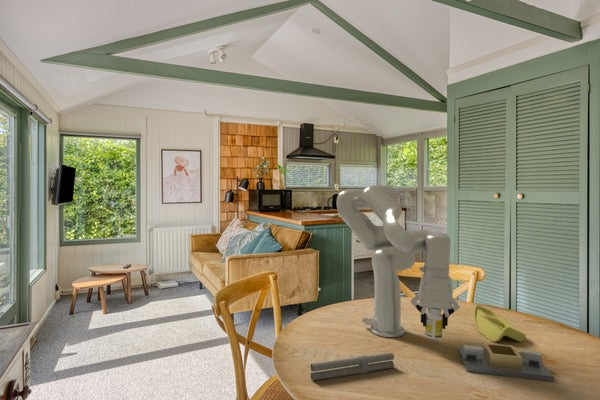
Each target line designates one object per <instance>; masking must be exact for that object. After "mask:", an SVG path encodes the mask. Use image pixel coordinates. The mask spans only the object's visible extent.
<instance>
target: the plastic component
mask: <svg viewBox="0 0 600 400" xmlns="http://www.w3.org/2000/svg"><path fill="white" fill-rule="evenodd" d="M473 322H474V323H473V324H474V326H475V328H476V329H477V330H478V331H479V332H480V333H481V334H482V335H483V336H485V337H486V338H487V339H488V340H489V341H491V342H493V343H497V342H500V341H501V340H502V338H503V337H508V338H511V339H512V340H514V341H517V342H519V343H522V342H523V341H524V339H525V337H526V335H527V334H526V333H525V332H523V331H522V330H520V329H519V328H518V327H516V326H515V325H513V324H511V322H508V321H507V320H506V319H504V318H503V317H501V316H500V315H498V314H497V313H495V312H493V311H491V310H490V309H487V308H485V307H483V306H481V305H479V304H476V305H475V306H474V308H473Z"/></svg>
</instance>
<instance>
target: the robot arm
mask: <svg viewBox="0 0 600 400" xmlns="http://www.w3.org/2000/svg"><path fill="white" fill-rule="evenodd" d="M397 201H398V193H397V191H396V189H395V188H394V187H392V186H390V185H384V184H381V185H380V184H379V185H377V184H373V185H369V186H367V187H366V188H362V189H361V188H357V189H356V188H355V189H354V188H350V189H349V188H348V189H345V190H343V191H341V192H339V194H338V195H337V197H336V208H337V213H338V215H339V216H340V218H341V220H342V221H343V222H344V223H345V224H346V225H347V226H348V227H349V229H350V230H351V231H352V232H353V235H355V237H356V238H357V240H358V241H359V243H360V244H361V245H362V247H364V249H365V250H366V251H371V252H373V254H371V255H372V256H371V265H372V270H373V278H374V315H373V316H372V317H371V318H370V317H369V318H368V317H362V323H364V324H365V326H366V325H367V326H370V327H369V329H370V331H371V333H372V334H374V335H377V336H380V337H384V338H399V337H402V336H403V335H405V333H406V329H405V327H404V326H402V323H401V317H402V316H401V315H402V311H401V310H402V309H401V307H402V306H401V305H402V304H401V303H402V300H401V297H402V295H401V293H402V291H401V290H402V289H401V285H402V284H401V281H400V280H401V279H399V276H398V274H397V272H401V271H405V270H409V269H411V268H412V267H414V265H415V263H416V254H417V253H424V265H423V266H420V267H419V272H422V274H421V277H420V282H419V288H418V293H417V294H416V295H415V296H414V297H413V298H412V299H411V300H410V303H411V305H413V306H414V307H415V308H416V310H417V311H418V312H419V313H420V323H421V324H422V326H423V327H424V328H425V326H426V313H427V312H426V311H427V310H428V308H437V309H441V310H442V311H443V314H442V316H443V330H446V327H447V326H448V324H449V323H448V322H449V318H450V316H451V315H452V314H453V313H455V312H456V311H458V310H459V309H460V308H461V306H460V305H459V303H458V302H457V301H456V299H455V298H454V294H453V293H454V292H453V291H454V290H453V282H452V277H451V276H450V263H451V262H450V260H451V259H450V257H451V238H450V236H449V235H448V234H445V233H444V234H443V233H436V232H432V231H430V230H426V229H418V230H417V229H416V230H408V231H407V230H406V229H405V228H404V227H403V226H402V225H401V224H400V223H399V222H398V220H399V219H400V217H401V215H402V212H403V209H402V207H401V205H399V204H398V203H397ZM361 210H371V211H372V212H373V213H374V214H375V216H376V217H378V219H380V220H381V222H382V225H376V224H374V222H372V220H371V219H370V218H369V217H368V215H366V214H365V213H364V212H362V211H361Z"/></svg>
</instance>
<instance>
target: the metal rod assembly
mask: <svg viewBox="0 0 600 400" xmlns="http://www.w3.org/2000/svg"><path fill="white" fill-rule="evenodd" d="M393 360H395V355H394V353H393V352H387V353H386V352H385V353H380V354H379V353H377V354H373V355H372V354H371V355H359V356H355V357H350V358H343V359H335V360H327V361H322V362H315V363H310V371H311V373H310V379H311V380H312V381H313V382H314V381H317V380H325V379H331V378H338V377H343V376H344V377H346V376H352V375H357V374H360V375H361V374H368V373H369V372H374V371H375V372H376V371H381V370H387V369H393V368H394V367H395V363H394V361H393Z"/></svg>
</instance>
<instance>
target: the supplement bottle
mask: <svg viewBox="0 0 600 400" xmlns="http://www.w3.org/2000/svg"><path fill="white" fill-rule="evenodd" d="M425 313H426V326H425V327H424V336H425V337H426V338H428V339H430V340H441V339H442V338H443V330H444V329H443V316H442V315H443V314H442V309H437V308H428V307H427V312H425Z"/></svg>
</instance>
